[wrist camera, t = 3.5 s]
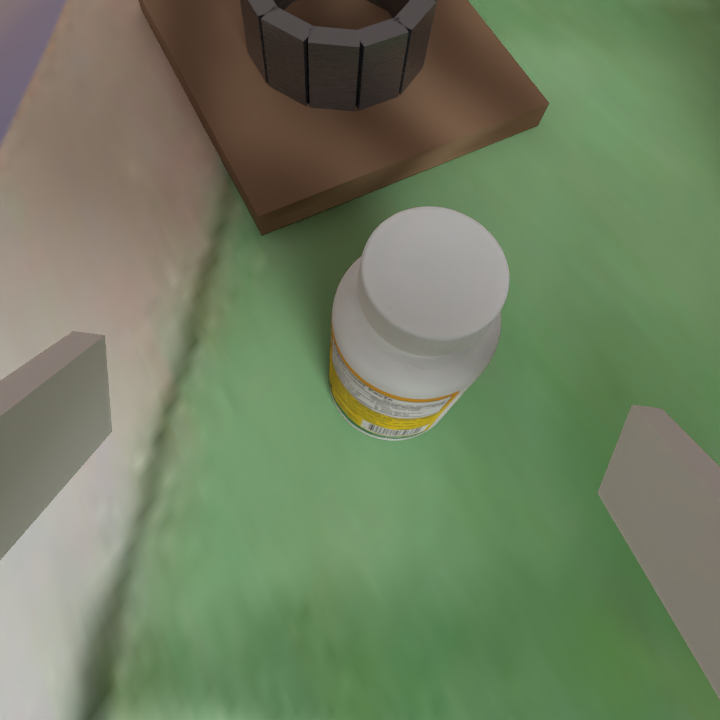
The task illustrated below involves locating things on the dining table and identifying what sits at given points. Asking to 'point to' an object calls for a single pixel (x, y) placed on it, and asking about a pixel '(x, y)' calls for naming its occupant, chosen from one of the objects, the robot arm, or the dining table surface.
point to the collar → (338, 53)
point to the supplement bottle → (415, 321)
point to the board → (338, 127)
